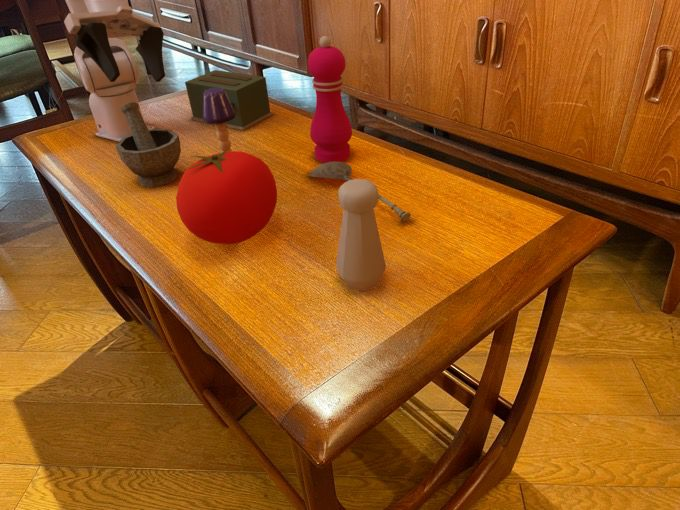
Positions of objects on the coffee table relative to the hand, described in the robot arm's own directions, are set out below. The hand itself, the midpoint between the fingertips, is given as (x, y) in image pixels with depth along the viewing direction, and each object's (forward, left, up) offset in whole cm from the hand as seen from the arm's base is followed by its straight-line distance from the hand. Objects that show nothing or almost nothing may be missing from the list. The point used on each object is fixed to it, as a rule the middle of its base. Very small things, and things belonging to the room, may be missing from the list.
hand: (138, 78), depth 76 cm
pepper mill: (+21, +20, -17) cm, 33 cm away
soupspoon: (+32, +10, -17) cm, 37 cm away
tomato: (+22, -7, -17) cm, 29 cm away
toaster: (-9, +27, -17) cm, 33 cm away
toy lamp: (+15, +1, -17) cm, 23 cm away
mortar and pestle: (-2, 0, -17) cm, 17 cm away
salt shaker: (+43, -8, -17) cm, 47 cm away
